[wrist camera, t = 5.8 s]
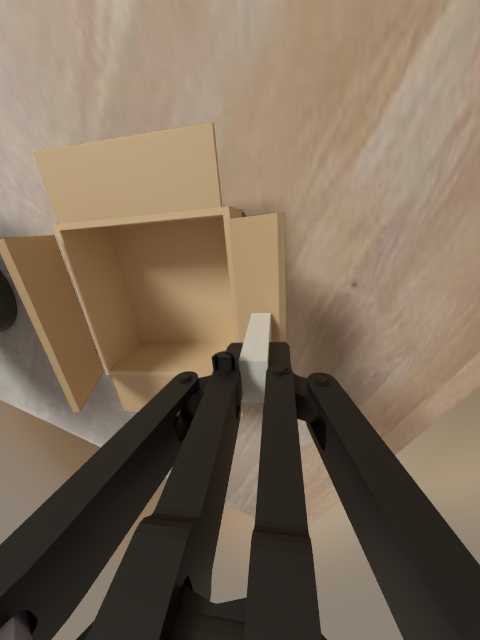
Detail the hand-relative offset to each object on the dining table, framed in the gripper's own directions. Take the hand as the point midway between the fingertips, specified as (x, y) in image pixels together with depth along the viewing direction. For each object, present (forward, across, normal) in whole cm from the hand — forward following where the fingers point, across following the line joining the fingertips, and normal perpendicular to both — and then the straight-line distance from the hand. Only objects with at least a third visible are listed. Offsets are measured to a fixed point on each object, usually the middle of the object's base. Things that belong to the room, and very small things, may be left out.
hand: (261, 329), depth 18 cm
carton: (+14, -12, 0) cm, 18 cm away
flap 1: (+6, -21, 0) cm, 22 cm away
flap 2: (+6, -3, 0) cm, 6 cm away
